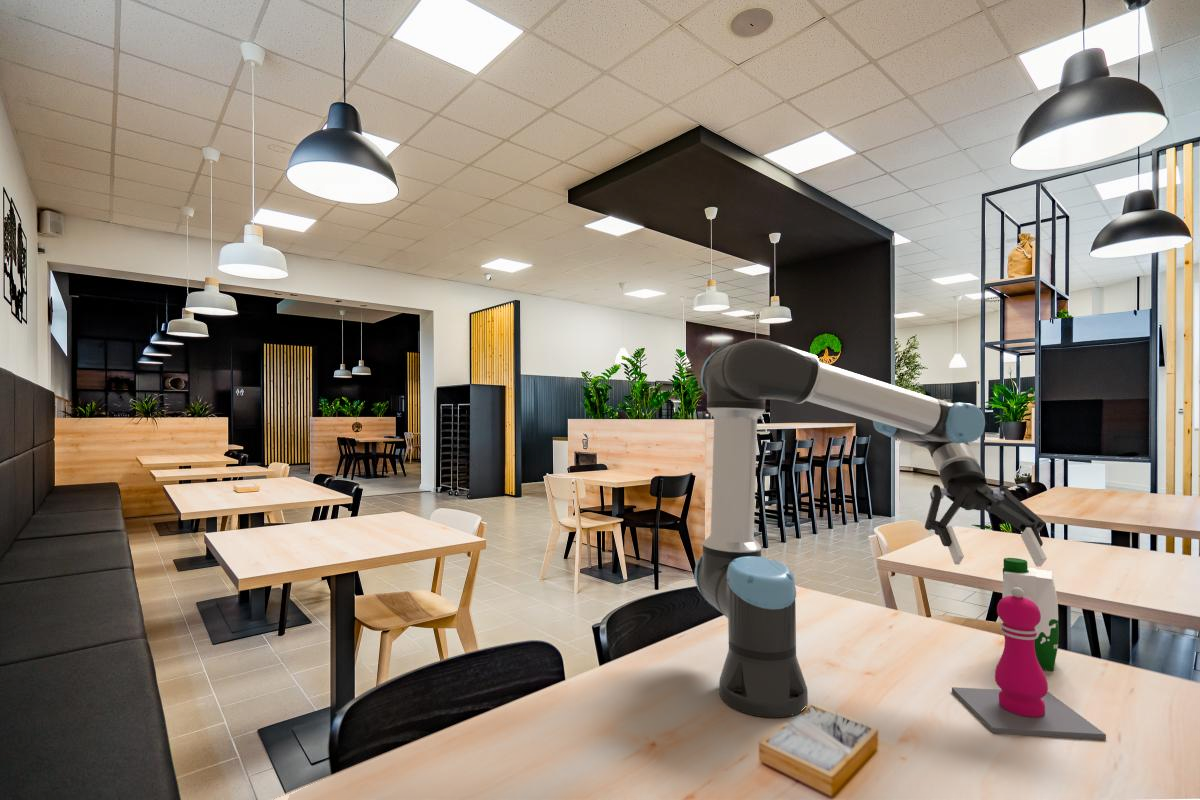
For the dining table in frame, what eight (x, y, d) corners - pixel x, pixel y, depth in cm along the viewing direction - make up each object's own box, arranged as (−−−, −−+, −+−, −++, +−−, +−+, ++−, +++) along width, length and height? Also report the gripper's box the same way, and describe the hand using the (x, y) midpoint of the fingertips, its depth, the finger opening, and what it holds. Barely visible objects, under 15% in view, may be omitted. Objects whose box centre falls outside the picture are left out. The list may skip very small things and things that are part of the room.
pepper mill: (1060, 719, 94) (1055, 593, 95) (1014, 719, 94) (1010, 593, 95) (1028, 698, 101) (1024, 581, 102) (985, 698, 101) (982, 581, 102)
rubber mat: (993, 733, 92) (993, 727, 92) (951, 691, 105) (951, 687, 105) (1106, 739, 89) (1105, 734, 89) (1048, 696, 103) (1048, 691, 103)
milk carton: (1005, 649, 125) (1002, 554, 125) (1059, 659, 119) (1056, 560, 120) (1003, 662, 118) (1000, 562, 118) (1060, 674, 112) (1056, 569, 113)
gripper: (1017, 482, 121) (1067, 574, 106) (890, 481, 125) (920, 570, 109) (1032, 458, 116) (1086, 552, 101) (899, 458, 119) (931, 548, 104)
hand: (1000, 561), depth 105 cm, fingers open, 13 cm apart
